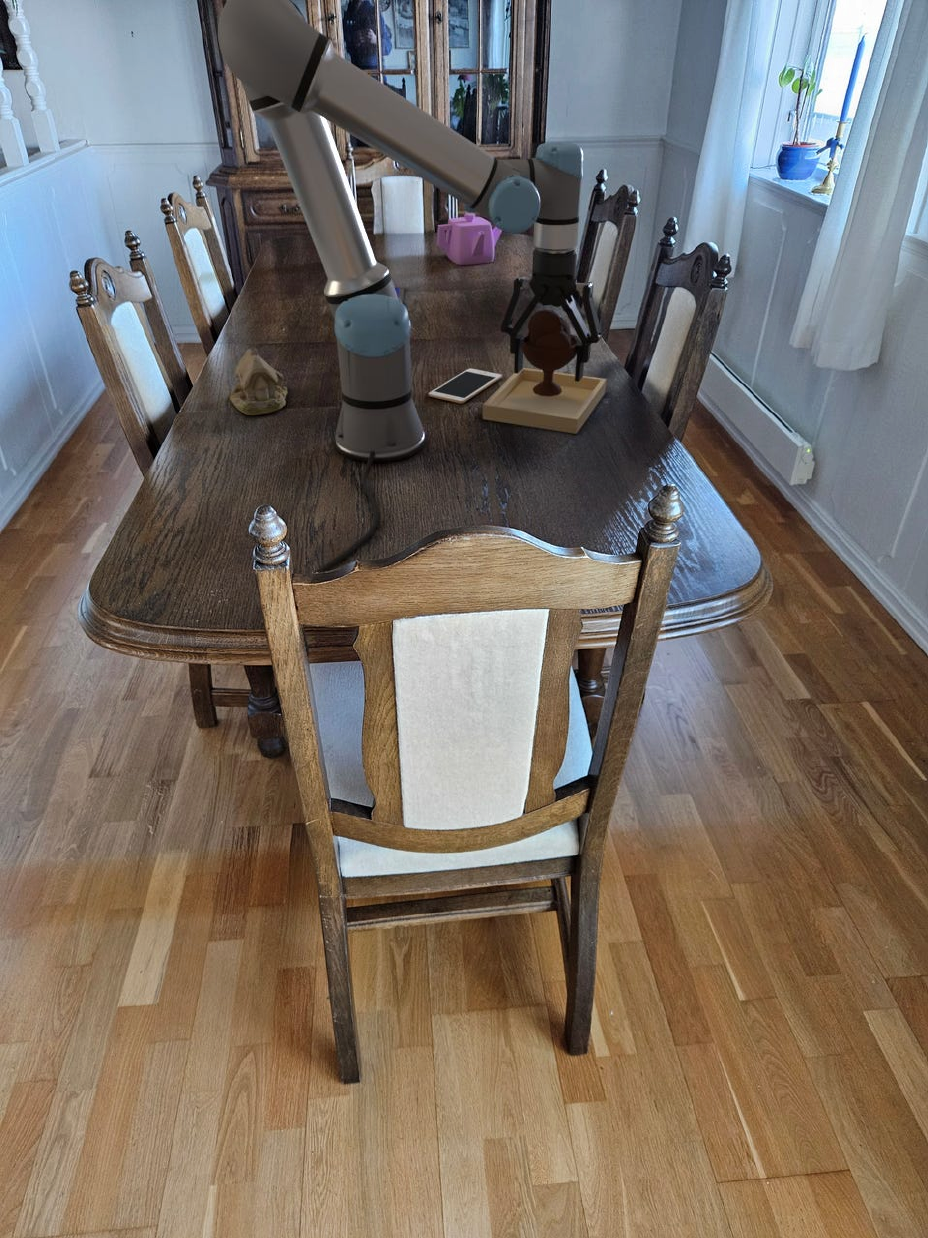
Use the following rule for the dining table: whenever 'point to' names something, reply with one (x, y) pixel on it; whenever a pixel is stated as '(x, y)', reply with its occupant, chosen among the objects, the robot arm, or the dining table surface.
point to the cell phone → (465, 385)
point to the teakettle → (468, 239)
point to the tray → (545, 401)
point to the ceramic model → (257, 386)
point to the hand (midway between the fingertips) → (548, 374)
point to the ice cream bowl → (548, 348)
